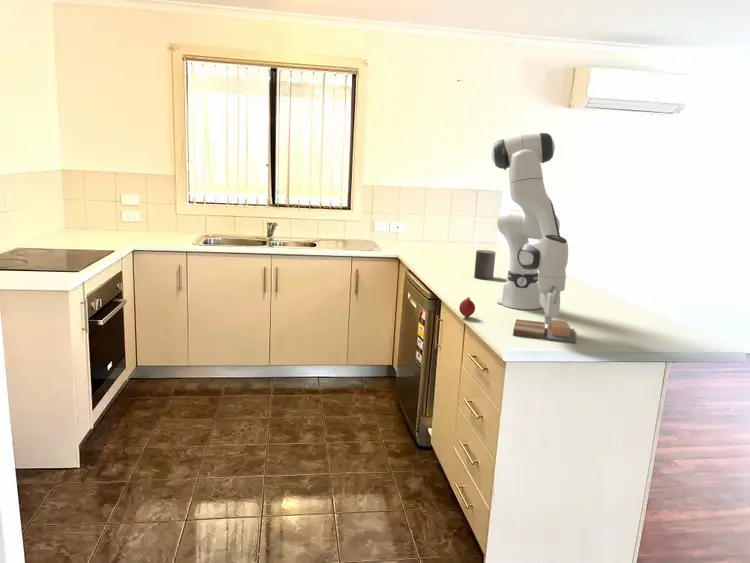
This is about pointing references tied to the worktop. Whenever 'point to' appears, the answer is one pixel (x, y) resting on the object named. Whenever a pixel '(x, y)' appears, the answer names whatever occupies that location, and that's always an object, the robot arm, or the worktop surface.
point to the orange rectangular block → (559, 328)
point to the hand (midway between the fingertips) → (547, 323)
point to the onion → (467, 307)
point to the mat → (562, 337)
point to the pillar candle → (484, 264)
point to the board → (529, 329)
